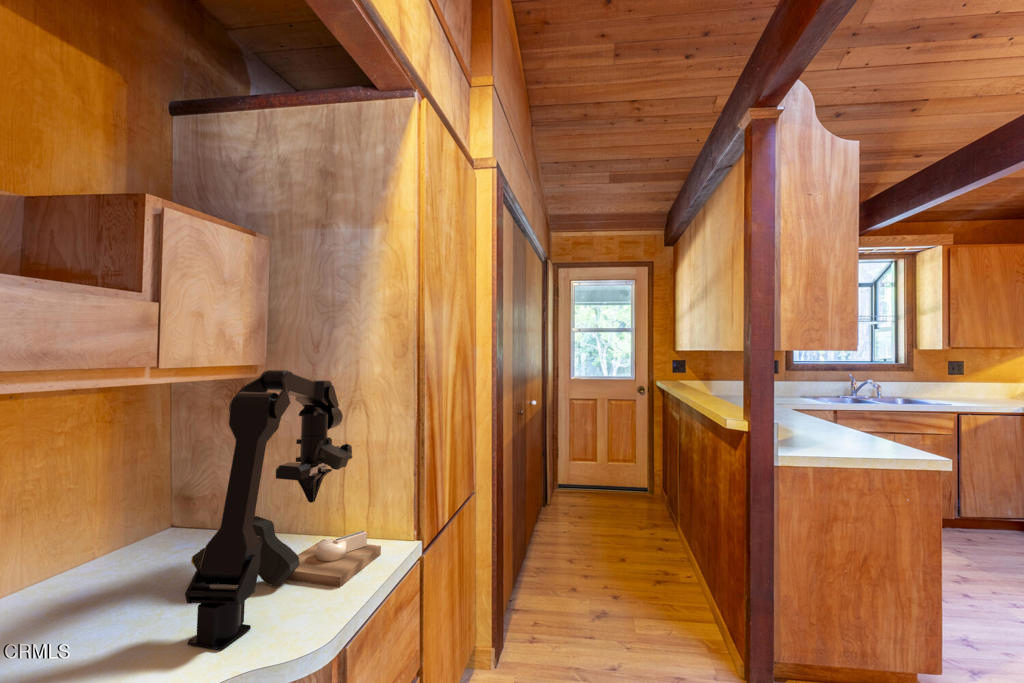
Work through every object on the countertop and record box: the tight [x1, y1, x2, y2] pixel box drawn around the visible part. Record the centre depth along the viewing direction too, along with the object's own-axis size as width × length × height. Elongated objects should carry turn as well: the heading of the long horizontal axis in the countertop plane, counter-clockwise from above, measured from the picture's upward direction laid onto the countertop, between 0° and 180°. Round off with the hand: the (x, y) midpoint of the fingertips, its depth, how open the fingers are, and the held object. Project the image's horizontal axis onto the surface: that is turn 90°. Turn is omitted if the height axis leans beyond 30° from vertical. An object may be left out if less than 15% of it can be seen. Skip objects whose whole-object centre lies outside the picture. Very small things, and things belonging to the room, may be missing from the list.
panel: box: [286, 539, 382, 588], centre depth 108 cm, size 17×15×2 cm
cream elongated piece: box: [316, 530, 368, 561], centre depth 110 cm, size 12×6×3 cm, turn 142°
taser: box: [190, 515, 300, 588], centre depth 100 cm, size 4×18×15 cm
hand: (311, 502), depth 114 cm, fingers closed
